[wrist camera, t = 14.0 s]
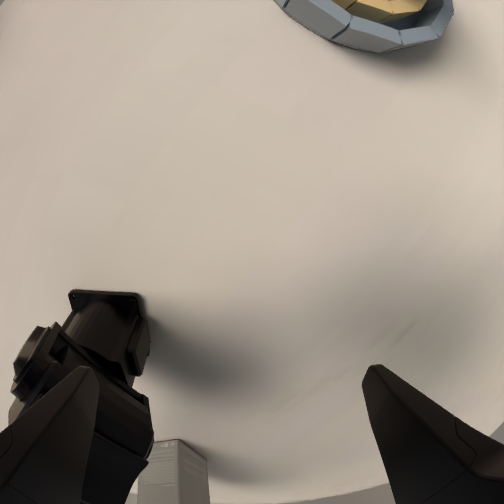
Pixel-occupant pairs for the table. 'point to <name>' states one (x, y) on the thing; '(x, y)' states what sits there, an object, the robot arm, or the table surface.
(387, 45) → the grey round dish
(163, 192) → the table surface
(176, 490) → the skincare box
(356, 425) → the table surface
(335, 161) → the table surface
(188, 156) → the table surface
